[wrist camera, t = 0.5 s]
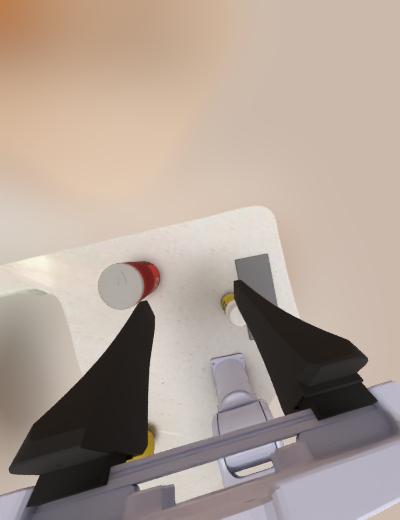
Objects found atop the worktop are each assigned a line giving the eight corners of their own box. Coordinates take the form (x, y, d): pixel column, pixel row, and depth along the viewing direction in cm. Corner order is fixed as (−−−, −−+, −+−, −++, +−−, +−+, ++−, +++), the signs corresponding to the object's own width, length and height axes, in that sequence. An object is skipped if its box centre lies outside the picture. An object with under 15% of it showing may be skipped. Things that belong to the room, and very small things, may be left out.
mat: (281, 332, 35) (282, 334, 35) (249, 338, 35) (250, 340, 34) (266, 253, 35) (267, 253, 34) (234, 260, 35) (235, 260, 34)
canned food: (152, 256, 35) (130, 255, 24) (166, 285, 35) (150, 299, 24) (124, 268, 35) (89, 274, 24) (137, 298, 35) (109, 317, 24)
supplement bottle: (218, 295, 35) (224, 307, 26) (236, 289, 35) (248, 300, 26) (224, 313, 35) (231, 331, 27) (242, 308, 35) (255, 324, 27)
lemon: (145, 445, 35) (129, 500, 27) (132, 428, 35) (112, 478, 27) (163, 432, 35) (152, 484, 27) (149, 415, 35) (135, 462, 27)
